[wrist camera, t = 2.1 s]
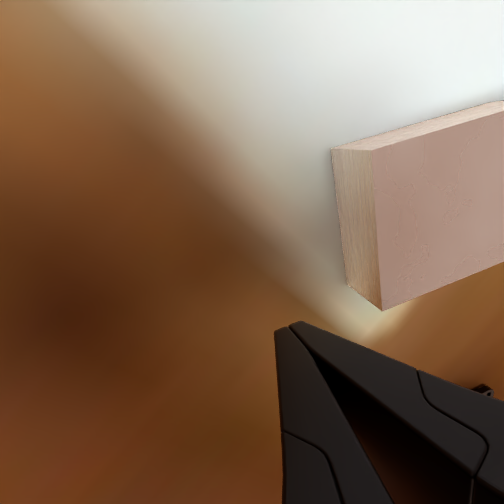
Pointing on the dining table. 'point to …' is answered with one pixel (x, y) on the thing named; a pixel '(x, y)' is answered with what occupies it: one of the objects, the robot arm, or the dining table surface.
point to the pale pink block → (422, 204)
